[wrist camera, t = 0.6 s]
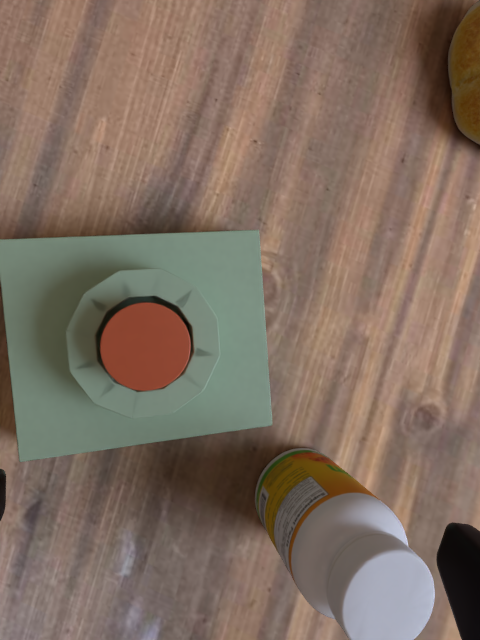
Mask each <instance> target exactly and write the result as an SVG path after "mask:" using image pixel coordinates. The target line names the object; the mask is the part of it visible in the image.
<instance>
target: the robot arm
mask: <svg viewBox="0 0 480 640" xmlns="http://www.w3.org/2000/svg"><path fill="white" fill-rule="evenodd" d="M5 502H6V474H5V471H4V470H2V469H0V521H1V519H2V516H3V514H4V510H5ZM437 566H438V570H439V573H440V576H441V579H442V582H443V585H444V588H445V591H446V594H447V597H448V600H449V603H450V606H451V609H452V612H453V615H454V618H455V621H456V624H457V627H458V630H459V633H460V636H461V639H462V640H480V531H478V530H477V529H476V528H474V527H473V526H471V525H468V524H461V523H450V524H448V525H447V527H446V529H445V532H444V535H443V538H442V541H441V544H440V546H439V549H438V552H437Z"/></svg>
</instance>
